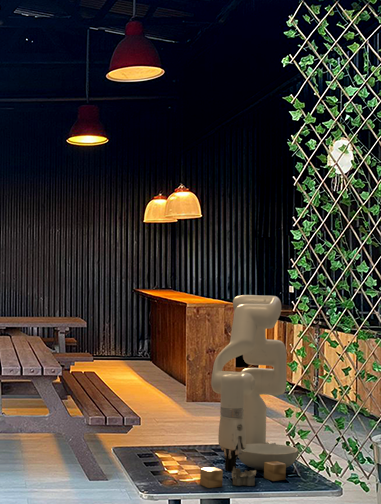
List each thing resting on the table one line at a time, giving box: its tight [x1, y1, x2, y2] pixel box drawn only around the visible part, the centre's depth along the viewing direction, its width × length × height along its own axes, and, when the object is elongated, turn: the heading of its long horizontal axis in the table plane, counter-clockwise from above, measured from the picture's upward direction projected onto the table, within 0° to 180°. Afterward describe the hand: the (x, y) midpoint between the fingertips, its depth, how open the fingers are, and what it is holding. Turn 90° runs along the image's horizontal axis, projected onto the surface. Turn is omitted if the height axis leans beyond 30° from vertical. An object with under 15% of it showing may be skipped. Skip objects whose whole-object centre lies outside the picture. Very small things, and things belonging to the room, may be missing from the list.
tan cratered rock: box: [231, 466, 257, 487], centre depth 266 cm, size 11×8×4 cm
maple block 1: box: [199, 466, 224, 489], centre depth 260 cm, size 5×5×5 cm
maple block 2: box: [263, 461, 287, 482], centre depth 272 cm, size 5×5×5 cm
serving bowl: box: [237, 443, 299, 472], centre depth 288 cm, size 21×21×7 cm
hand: (230, 470), depth 272 cm, fingers closed
